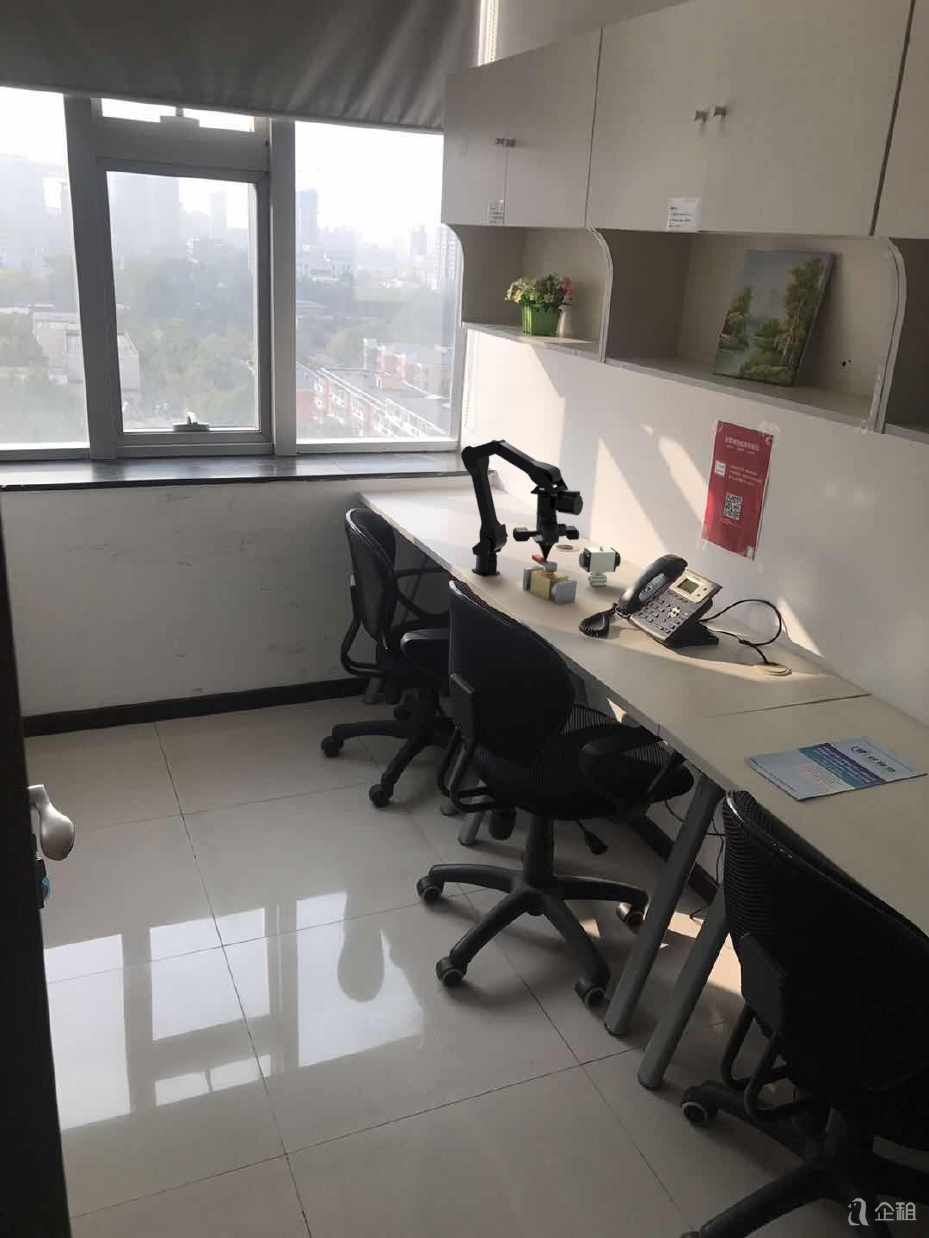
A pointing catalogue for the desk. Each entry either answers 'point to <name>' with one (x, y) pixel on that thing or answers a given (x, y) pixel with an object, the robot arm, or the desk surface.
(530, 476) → the robot arm
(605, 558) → the pneumatic valve
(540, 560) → the lever
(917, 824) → the desk surface
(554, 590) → the valve pipe
